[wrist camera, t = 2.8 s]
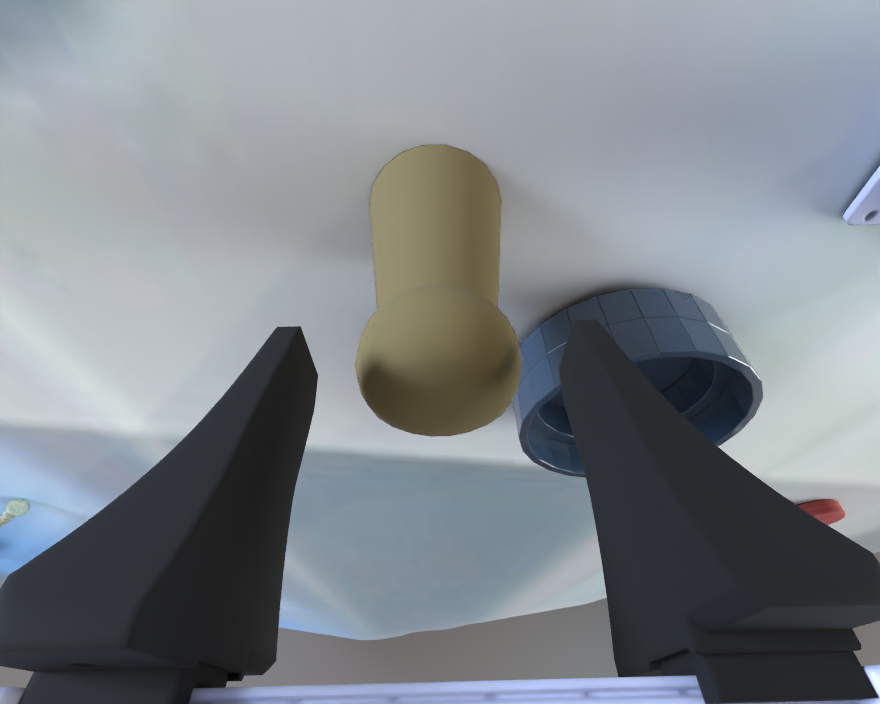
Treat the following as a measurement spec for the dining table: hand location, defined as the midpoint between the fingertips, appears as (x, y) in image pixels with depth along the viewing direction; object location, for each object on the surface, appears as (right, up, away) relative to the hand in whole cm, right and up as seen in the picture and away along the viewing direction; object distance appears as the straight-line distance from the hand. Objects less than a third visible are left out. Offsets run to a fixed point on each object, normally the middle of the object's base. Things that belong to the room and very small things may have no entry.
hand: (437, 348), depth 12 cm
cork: (0, +7, +8) cm, 11 cm away
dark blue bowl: (+11, -1, +16) cm, 20 cm away
